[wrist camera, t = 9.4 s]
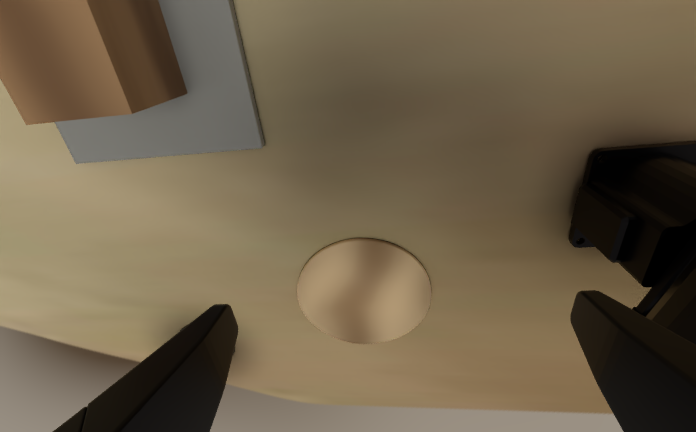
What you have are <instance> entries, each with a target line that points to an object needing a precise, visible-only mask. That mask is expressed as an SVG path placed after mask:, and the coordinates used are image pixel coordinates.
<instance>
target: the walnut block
mask: <svg viewBox="0 0 696 432" xmlns="http://www.w3.org/2000/svg"><path fill="white" fill-rule="evenodd" d="M0 79H1V80H2V82H3V84H4V86H5V87H6V89H7V91H8V93H9V95H10V96H11V98H12V100H13V102H14V104H15V105H16V107H17V109H18V111H19V113H20V114H21V116H22V118H23V120H24V122H25V123H26V125H30V124H40V123H49V122H59V121H69V120H79V119H89V118H98V117H108V116H118V115H128V114H134V113H137V112H139V111H142V110H145V109H147V108H150V107H153V106H156V105H158V104H161V103H164V102H166V101H169V100H172V99H175V98H177V97H180V96H183V95H186V94H188V93H187V90H186V86H185V83H184V80H183V77H182V74H181V71H180V67H179V64H178V61H177V58H176V55H175V52H174V48H173V45H172V42H171V39H170V36H169V33H168V29H167V26H166V23H165V20H164V17H163V14H162V11H161V7H160V4H159V1H158V0H0Z"/></svg>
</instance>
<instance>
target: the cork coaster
mask: <svg viewBox="0 0 696 432" xmlns="http://www.w3.org/2000/svg"><path fill="white" fill-rule="evenodd" d="M297 297H298V302H299V305H300V307H301V309H302V311H303V313H304V315H305V316H306V318H307V319H308V320H309V321H310V322H311V323H312V324H313V325H314V326H315V327H316V328H318V329H319V330H321V331H322V332H324V333H325V334H327V335H329V336H331V337H334V338H336V339H339V340H342V341H346V342H351V343H358V344H375V343H382V342H387V341H390V340H394V339H396V338H399V337H401V336H403V335H405V334H407V333H408V332H410V331H411V330H413V329H414V328H415V327H416V326H417V325H418V324H419V323H420V322H421V321H422V320H423V318H424V317H425V315H426V314H427V312H428V310H429V307H430V303H431V297H432V292H431V285H430V281H429V277H428V275H427V273H426V270H425V269H424V267H423V266H422V264H421V263H420V262H419V261H418V260H417V259H416V258H415V257H414V256H413V255H412V254H411V253H409V252H408V251H406V250H405V249H403V248H401V247H399V246H397V245H395V244H392V243H389V242H386V241H382V240H378V239H369V238H356V239H347V240H343V241H339V242H336V243H333V244H331V245H329V246H327V247H325V248H323V249H321V250H320V251H318V252H317V253H316V254H314V255H313V256H312V257H311V258H310V259H309V261H308V262H307V263H306V264H305V266H304V268H303V269H302V272H301V274H300V277H299V280H298V285H297Z"/></svg>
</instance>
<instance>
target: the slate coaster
mask: <svg viewBox="0 0 696 432" xmlns="http://www.w3.org/2000/svg"><path fill="white" fill-rule="evenodd" d="M158 1H159V4H160V7H161V11H162V14H163V17H164V20H165V23H166V26H167V29H168V33H169V36H170V39H171V42H172V45H173V48H174V52H175V55H176V58H177V61H178V64H179V67H180V71H181V74H182V77H183V80H184V83H185V86H186V90H187V93H188V94H186V95H183V96H180V97H177V98H175V99H172V100H169V101H166V102H164V103H161V104H158V105H156V106H153V107H150V108H147V109H145V110H142V111H139V112H137V113H134V114H128V115H118V116H108V117H98V118H89V119H79V120H69V121H59V122H55V124H56V126H57V128H58V130H59V132H60V134H61V136H62V137H63V139H64V141H65V143H66V145H67V147H68V149H69V151H70V153H71V155H72V157H73V159H74V161H75V163H76V164H79V163H91V162H103V161H115V160H127V159H139V158H151V157H163V156H175V155H187V154H199V153H211V152H223V151H235V150H247V149H259V148H263V147H264V146H265V143H264V139H263V134H262V130H261V125H260V121H259V116H258V112H257V107H256V103H255V99H254V94H253V90H252V85H251V81H250V76H249V72H248V67H247V63H246V59H245V54H244V50H243V45H242V41H241V36H240V32H239V27H238V23H237V18H236V14H235V10H234V5H233V1H232V0H158Z"/></svg>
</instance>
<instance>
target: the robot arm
mask: <svg viewBox="0 0 696 432" xmlns="http://www.w3.org/2000/svg"><path fill="white" fill-rule="evenodd" d="M601 155H603V158H602V159H601V160H600V161H598V158H599V157H600V156H601ZM571 222H572V228H571V232H570V236H569V241H570V243H571V244H572V245H573V246H574V247H577V248H582V247H596V248H597V249H598V250H599V251H600V252H601V253H602V254H604V255H605V256H606V257H607V258H608V259H609V260H610V261H611V262H613V263H615V262H618V263H619V264H620V265H621V266H622V267H623V268H624V269H625V270H626V271H627V272H628V273H630V274H631V275H632V276H633V277H634V278H635V279H636V280H637V281H638V282H639V283H640V284H641V285H642V286H643V287H652V288H651V289H650V291H649V292H648V293H647V295H646V296H645V297H644V298H643V300H642V301H641V302H640V303H639V305H638V306H637V307H633V308H632V309H630V308H628V307H627V306H625V305H623V304H621V303H619V302H618V301H616V300H614V299H612V298H610V297H609V296H607V295H605V294H603V293H601V292H599V291H595V290H592V291H580V292H578V293H577V295H576V298H575V301H574V305H573V308H572V312H571V324H572V326H573V329H574V331H575V333H576V336H577V338H578V340H579V343H580V345H581V348H582V350H583V352H584V355H585V357H586V359H587V362H588V364H589V366H590V369H591V371H592V373H593V375H594V378H595V380H596V382H597V384H598V386H599V388H600V390H601V392H602V394H603V395H604V397H605V399H606V401H607V403H608V404H609V406H610V408H611V410H612V412H613V413H614V415H615V417H616V419H617V420H618V422H619V424H620V426H621V427H622V430H623V431H624V432H696V141H692V142H679V143H666V144H653V145H640V146H626V147H613V148H600V149H597V150H595V151H593V152H592V153H591V154H590V157H589V160H588V164H587V168H586V172H585V176H584V180H583V184H582V186H581V187H580V189H579V193H578V197H577V201H576V205H575V209H574V213H573V217H572V221H571ZM579 238H581V239H580V240H579V241H577V239H579ZM237 335H238V325H237V322H236V319H235V317H234V314H233V311H232V308H231V306H230V305H228V304H216V305H213V306H212V307H210V308H209V309H208V310H207V311H205V312H204V313H203V314H201V315H200V316H199V317H198V318H196V319H195V320H194V321H193V322H191V323H190V324H189V325H188V326H186V327H185V328H184V329H183V330H181V331H180V332H179V333H177V334H176V335H175V336H174V337H172V338H171V339H170V340H169V341H167V342H166V343H165V344H164V345H162V346H161V347H160V348H159V349H157V350H156V351H155V352H153V353H152V354H151V355H150V356H148V357H147V358H146V359H145V360H143V361H142V362H141V363H140V364H139V365H137V366H136V367H135V368H133V369H132V370H131V371H129V372H128V373H127V374H126V375H124V376H123V377H122V378H121V379H119V380H118V381H117V382H116V383H115V384H113V385H112V386H110V387H109V388H108V389H107V390H106V391H104V392H103V393H102V394H101V395H99V396H98V397H97V398H95V399H94V400H93V401H92V402H90V403H89V404H88V406H87V407H84V408H83V409H81V410H80V411H79V412H78V413H76V414H75V415H74V416H72V418H70V419H69V420H67V421H66V422H65V423H63V424H62V425H61V426H60V427H58V428H57V429H56V430H54V431H53V432H210V429H211V426H212V423H213V420H214V418H215V415H216V412H217V409H218V406H219V403H220V400H221V398H222V394H223V391H224V388H225V385H226V381H227V377H228V373H229V368H230V364H231V360H232V356H233V352H234V347H235V343H236V339H237Z"/></svg>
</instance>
